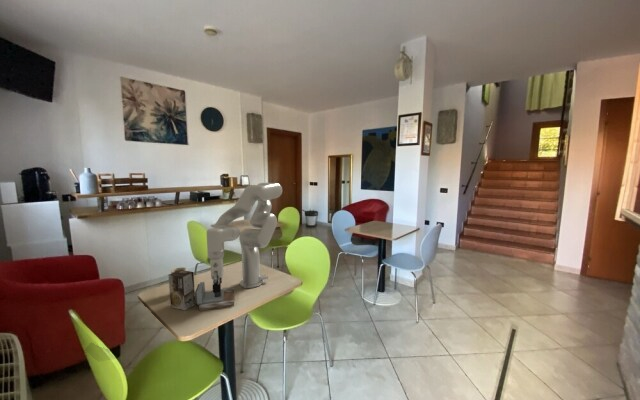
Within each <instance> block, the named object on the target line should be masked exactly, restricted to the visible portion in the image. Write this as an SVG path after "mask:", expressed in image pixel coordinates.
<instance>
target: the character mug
mask: <svg viewBox="0 0 640 400" xmlns="http://www.w3.org/2000/svg"><path fill="white" fill-rule="evenodd" d="M178 270H183V271H190V270H189V269H187V267H184V266H181V267H180V266H179V267H176V268H173V269H171V270H170V274H172V273H173V272H176V271H178Z"/></svg>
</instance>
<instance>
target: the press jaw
mask: <svg viewBox="0 0 640 400" xmlns="http://www.w3.org/2000/svg"><path fill="white" fill-rule="evenodd" d="M217 280H218V279H217ZM219 284H220V292H216V293H213V292H207V293H205V291H206V286H205V285H206V284H205V281H202V282H201V281H200V282H199V283H198V284H197V285H196V286H197V287H196V289H195V290H194V291H195V304H197V306H199V305H202V304H210V303H217V302H223V297H224V291H221V289H222V288H221V287H222V286H221V284H222V283H221V280H220V278H219Z"/></svg>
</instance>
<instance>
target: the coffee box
mask: <svg viewBox="0 0 640 400" xmlns="http://www.w3.org/2000/svg"><path fill="white" fill-rule="evenodd" d="M194 272H195V271H190V270H189V271H183V270H178V271H176V272H173V273H172V274H171V273H169V274H168V286H169V287H168V288H169V300H170V308H173V309H178V310H182V311H186V310H188V309H190V308H191V307H193V306H195V305H196V303H195V291H196V290H195V280H194V279H195V276H194Z"/></svg>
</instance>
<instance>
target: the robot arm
mask: <svg viewBox="0 0 640 400" xmlns="http://www.w3.org/2000/svg"><path fill="white" fill-rule="evenodd" d="M282 194H283V187H282V185H281V184H280V183H278V182H260V183H258V184H251V185H250V184H249V185H247V186H245V188H244V189H243V191H242V193H241V195H240V196H239V198H238V199H237V200H236V203H235V204H234V205H233V206H232V207H230V208H229V209H227V210H226V211H225V212H223V213H222V214H221V215H220V216H219V218H218V220H217V221H216V223H214V225H213V227H211V228H208V229H207V230H206V247H207V248H206V249H207V251H206V253H207V259H208V260H210V262H209V263H210V277H211V280H212V290H213V293H216V292H220V284H219V278H220V280H221V284H223V283H222V281H223V280H222V279H223V277H224V259H223V258H224V257H225V242H233V241H235V240H237V239H238V238H239V239H238V240H239V243H240V244H239V245H240V248H241V249H240V250H241V270H242V271H241V274H242V275H241V277H242V280H240V281H239V286H240V287H242V288H245V289H253V288H257V287H259V286H261V285H262V284H264V281H265V280H269V276H268V275H266V274H263V275H262V274H261V270H260V269H261V268H260V266H261V265H260V264H261V263H260V250H259V249H264V248H266V247H268V245H269V244H270V241H271V239H272V238H273V235H274V232H275V230H276V228H277V225H278V219H277V216H276V215H275V214H274V213H271V211H272V202H271V200H274V199H277V198H280V197H281V196H282ZM256 202H257V204H256ZM255 204H256V207H255V209H254V211H253V213H252V215H251V217H250V220H249V224H250V226H251V227H252V228H249V227H248V228H244V229H243V230H241V231H240V228H239V227H237V226H236V225H230V224H232V223H233V222H234V221H235V220H238V219H239V218H243V217H244V216H245V217H246V216H248V215H249V214H250V212H251V210H252V208H253V207H254V205H255ZM217 279H218V280H217Z"/></svg>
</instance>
